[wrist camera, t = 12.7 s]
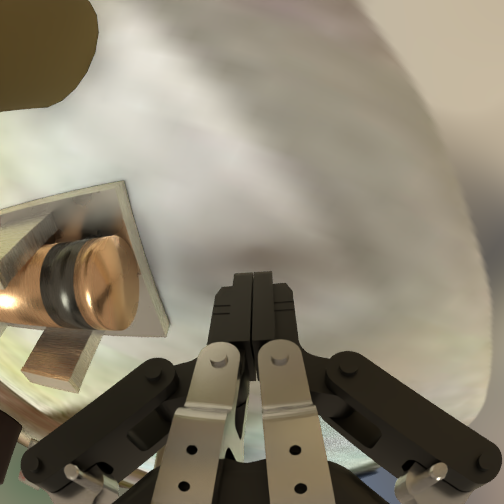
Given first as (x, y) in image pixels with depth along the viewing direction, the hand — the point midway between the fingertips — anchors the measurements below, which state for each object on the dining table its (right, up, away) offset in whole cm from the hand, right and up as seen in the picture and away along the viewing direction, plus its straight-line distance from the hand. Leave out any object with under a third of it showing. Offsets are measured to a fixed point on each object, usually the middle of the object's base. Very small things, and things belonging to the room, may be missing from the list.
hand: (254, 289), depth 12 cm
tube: (-14, +1, +2) cm, 14 cm away
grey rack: (-16, 0, +3) cm, 17 cm away
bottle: (-49, -32, +24) cm, 63 cm away
